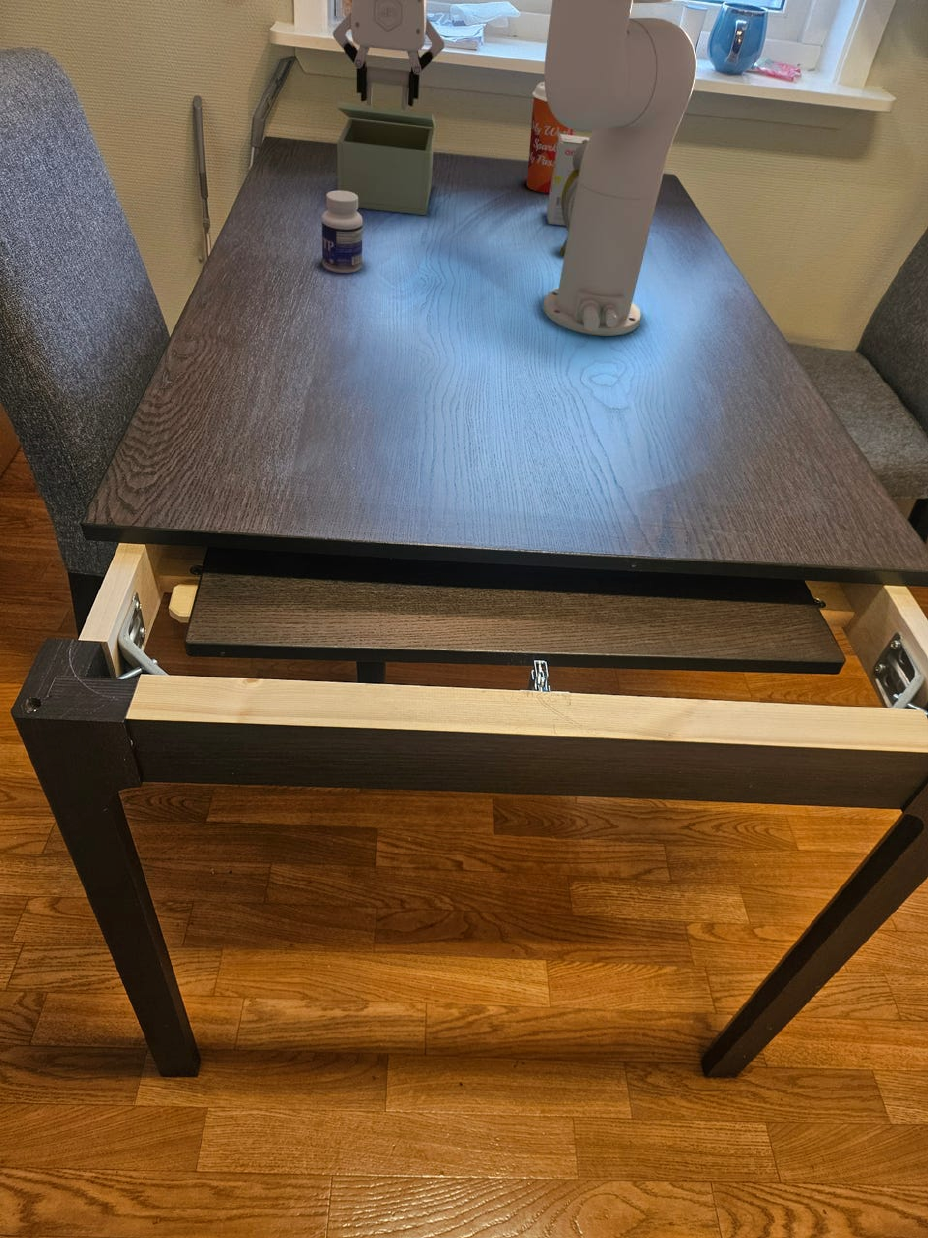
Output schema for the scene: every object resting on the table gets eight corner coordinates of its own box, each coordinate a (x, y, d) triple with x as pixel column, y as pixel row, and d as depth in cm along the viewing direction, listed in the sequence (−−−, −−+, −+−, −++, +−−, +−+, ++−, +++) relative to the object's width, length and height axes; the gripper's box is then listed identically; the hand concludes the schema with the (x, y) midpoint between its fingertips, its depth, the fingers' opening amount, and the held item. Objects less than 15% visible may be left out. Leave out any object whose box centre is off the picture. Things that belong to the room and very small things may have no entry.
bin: (426, 215, 130) (430, 152, 124) (337, 205, 129) (337, 141, 123) (431, 187, 140) (435, 127, 134) (348, 177, 139) (349, 117, 133)
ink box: (598, 219, 137) (614, 137, 128) (601, 230, 133) (618, 147, 125) (545, 213, 136) (558, 131, 128) (547, 224, 132) (560, 140, 124)
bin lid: (432, 119, 121) (435, 71, 118) (336, 107, 120) (338, 59, 117) (435, 127, 134) (438, 84, 131) (348, 117, 133) (350, 74, 130)
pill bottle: (317, 259, 113) (315, 188, 107) (354, 257, 115) (354, 187, 109) (329, 275, 110) (329, 203, 104) (367, 272, 112) (369, 201, 106)
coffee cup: (514, 188, 144) (528, 87, 133) (526, 176, 149) (540, 77, 139) (562, 198, 142) (580, 96, 132) (572, 185, 148) (589, 86, 138)
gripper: (320, -62, 107) (324, 101, 119) (456, -46, 108) (446, 113, 120) (328, -66, 113) (331, 89, 125) (457, -52, 114) (447, 101, 126)
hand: (387, 100), depth 123 cm, fingers closed on bin lid, 6 cm apart
